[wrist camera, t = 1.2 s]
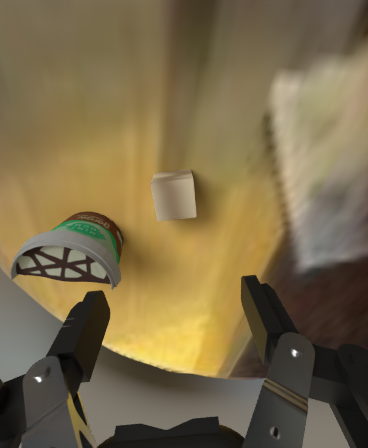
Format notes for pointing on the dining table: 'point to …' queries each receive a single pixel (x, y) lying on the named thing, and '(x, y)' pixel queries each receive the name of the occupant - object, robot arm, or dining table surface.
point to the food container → (74, 251)
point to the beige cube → (173, 195)
